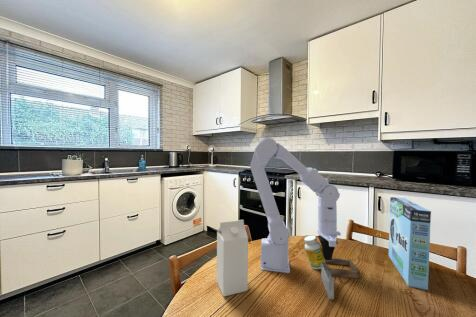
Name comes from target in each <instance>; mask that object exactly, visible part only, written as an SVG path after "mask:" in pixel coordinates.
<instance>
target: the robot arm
mask: <svg viewBox="0 0 476 317" xmlns="http://www.w3.org/2000/svg"><path fill="white" fill-rule="evenodd" d="M253 152H254V153H253V155H252V158H251V161H250V166H249V167H250V171H251V174H252V177H253V180H254V182H255V183H254V184H255V186H256V189H257V192H258V195H259V198H260V200H261V204H262V207H263V210H264V212H265V216H266V218H267V228H268V231H269V234H268V236H267V238H266V237H265V238H261V242H260V243H261V244H260V258H259V259H260V270H261V271H262V270H263V271H270V272H278V273H284V274H290V273H291V269H290V267H291V266H290V260H289V240H290V231H289V229H288V228H287V226H286V222H285V220H283V218H282V217H281V215H280V214H281V213H280V212H279V209H278V205H277V203H276V200H275V196H274V194H273V190H272V187H271V185H270V182H269V178H268V175H267V172H266V170H265V169H266V166H267V164H268V162H269V161H270V159H271V158H272V157H273V159H278V160H282V161H283V162H284V163H285V164H287V165H288V166H289V167H290V168H291V169H293V170H294V171H295V172H296V173H297V174H299V180H300V181H301V182H302V183H303V184H305V186H306V187H307V188H309V190H311V191H312V192H314V193H315V195H316V196H317V200H318V203H317V218H318V219H317V223H318V224H317V227H318V229H317V234H318V235H317V238H318V240H319V243H320V245H321V248H322V251H323V255H324V258H325V260H331V259H332V258H333V255H334V252H335V249H336V248H337V246H338V244H339V241H338V240H337V239H338V236H341V232H340V231H338V226H337V224H338V223H337V222H338V221H337V219H338V218H337V217H338V216H337V212H338V210H337V201H338V200H339V198H340V196H341V195H340V194H341V193H340V192H339V190H338V187H337V186H335V185H333V184H331V183H329V182H330V180H329V179H328V178H325V177H323V176H322V175H321V174H320V173H319V170H318V169H317V168H314V167H307V166H305V165H304V164H303V163H302V162H300V160H299V159H297V157H295V156H294V155H293V154H292V153H291V152H290V151H289V150H288V149H286V148H285V147H284V146H283V145H282V144H281V143H278V142H276V141H275V140H274V139H273V138H271V137H264V138H262V139H261V140H259V142H258V144H257V145H256V147H255V148H254V151H253Z"/></svg>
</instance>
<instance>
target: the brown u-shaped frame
mask: <svg viewBox="0 0 476 317" xmlns="http://www.w3.org/2000/svg"><path fill="white" fill-rule="evenodd" d="M325 261H326V264H331V265H341V266H349V269H343V268H342V269H341V268H334V267H333V268H332V267H328V269H329V271H330V273H331V275H332V276H335V277H343V278H353V279H358V280H359V279H360V278H361V273H360V271H359V269H358V268H357V266H356V265H355V263H354V262H353V261H352V259H351V258H350V259H349V258H341V257H340V258H339V257H332V259H331V260H325Z"/></svg>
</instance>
